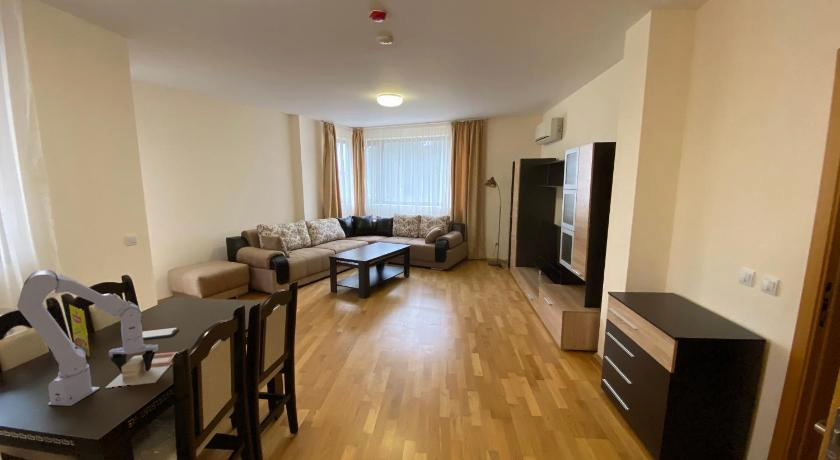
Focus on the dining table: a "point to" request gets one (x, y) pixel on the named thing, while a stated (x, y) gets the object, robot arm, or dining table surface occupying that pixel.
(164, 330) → the phone case
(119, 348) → the robot arm
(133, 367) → the block
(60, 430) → the dining table surface
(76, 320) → the food package
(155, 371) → the mat
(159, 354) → the frame
